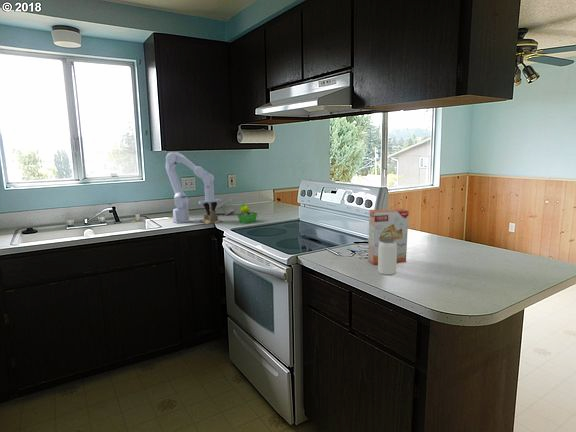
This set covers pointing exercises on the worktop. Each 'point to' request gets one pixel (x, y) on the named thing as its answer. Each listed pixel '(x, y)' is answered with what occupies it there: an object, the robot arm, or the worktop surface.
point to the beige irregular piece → (210, 220)
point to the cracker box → (388, 231)
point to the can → (387, 256)
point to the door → (211, 215)
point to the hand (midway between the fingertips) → (210, 214)
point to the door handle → (225, 208)
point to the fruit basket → (246, 215)
